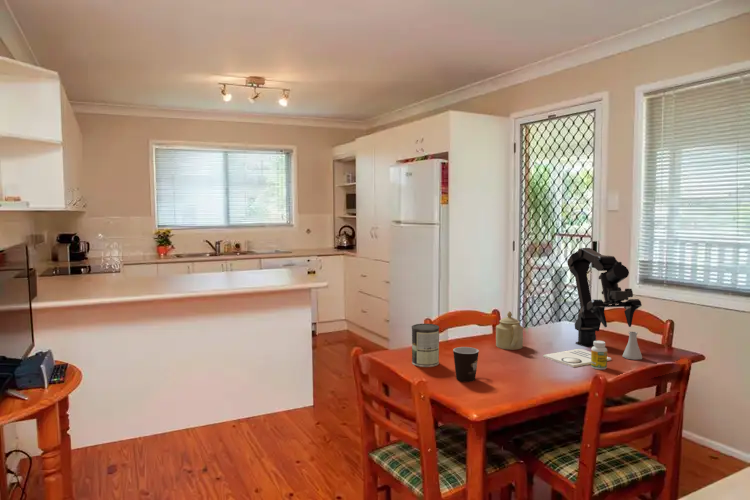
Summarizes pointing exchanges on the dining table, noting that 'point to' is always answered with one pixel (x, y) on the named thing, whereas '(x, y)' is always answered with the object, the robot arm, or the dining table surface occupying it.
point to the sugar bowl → (509, 333)
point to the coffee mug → (465, 363)
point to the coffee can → (425, 345)
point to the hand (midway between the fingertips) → (618, 326)
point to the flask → (632, 348)
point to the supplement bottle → (599, 355)
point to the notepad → (572, 357)
